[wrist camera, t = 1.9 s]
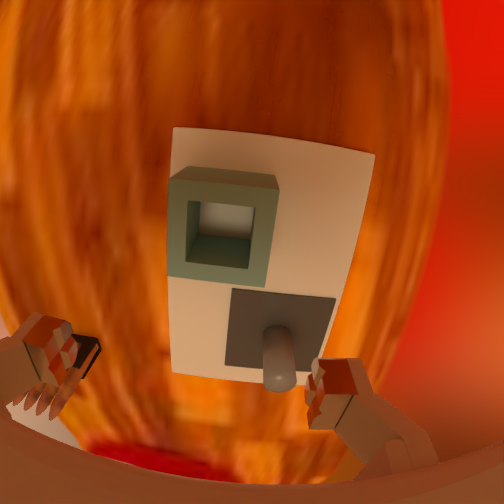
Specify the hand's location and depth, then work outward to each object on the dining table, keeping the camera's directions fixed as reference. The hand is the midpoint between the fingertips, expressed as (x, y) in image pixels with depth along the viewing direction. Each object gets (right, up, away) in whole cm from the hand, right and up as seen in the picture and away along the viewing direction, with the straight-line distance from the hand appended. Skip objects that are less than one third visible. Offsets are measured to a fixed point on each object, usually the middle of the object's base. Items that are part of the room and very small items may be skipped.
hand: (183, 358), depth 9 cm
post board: (+2, +1, +18) cm, 18 cm away
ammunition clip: (-21, -7, +22) cm, 31 cm away
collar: (0, +6, +14) cm, 15 cm away
